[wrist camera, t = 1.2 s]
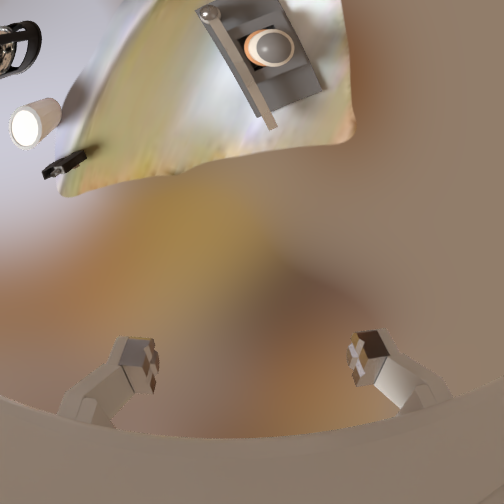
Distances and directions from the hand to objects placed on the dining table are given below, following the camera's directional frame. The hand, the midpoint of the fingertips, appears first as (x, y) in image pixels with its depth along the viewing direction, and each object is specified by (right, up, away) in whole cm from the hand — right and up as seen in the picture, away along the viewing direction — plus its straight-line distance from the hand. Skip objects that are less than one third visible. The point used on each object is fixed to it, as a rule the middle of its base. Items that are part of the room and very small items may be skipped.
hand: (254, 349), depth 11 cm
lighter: (-30, +19, +28) cm, 45 cm away
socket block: (+1, +31, +20) cm, 37 cm away
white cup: (-32, +26, +22) cm, 46 cm away
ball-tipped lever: (-1, +26, +18) cm, 32 cm away
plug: (+1, +30, +19) cm, 36 cm away
